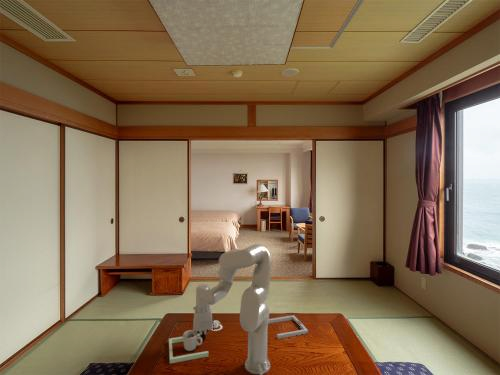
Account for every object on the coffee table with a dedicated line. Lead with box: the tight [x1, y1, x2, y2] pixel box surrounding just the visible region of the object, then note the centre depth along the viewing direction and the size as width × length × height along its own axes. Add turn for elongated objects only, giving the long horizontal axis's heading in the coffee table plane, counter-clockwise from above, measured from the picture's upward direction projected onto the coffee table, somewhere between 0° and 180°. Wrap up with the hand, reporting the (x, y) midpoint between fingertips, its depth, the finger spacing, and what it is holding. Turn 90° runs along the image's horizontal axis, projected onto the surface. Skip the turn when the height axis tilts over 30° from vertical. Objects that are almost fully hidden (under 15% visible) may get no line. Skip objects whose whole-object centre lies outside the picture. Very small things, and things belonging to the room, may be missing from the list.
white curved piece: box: [210, 319, 223, 332], centre depth 174 cm, size 9×8×4 cm
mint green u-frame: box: [168, 332, 209, 364], centre depth 151 cm, size 19×20×3 cm
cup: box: [182, 329, 203, 352], centre depth 152 cm, size 11×8×8 cm
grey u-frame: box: [268, 315, 309, 340], centre depth 173 cm, size 19×20×3 cm
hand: (202, 340), depth 154 cm, fingers closed
